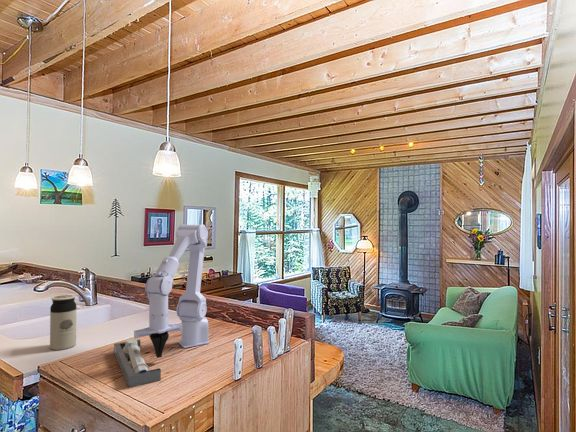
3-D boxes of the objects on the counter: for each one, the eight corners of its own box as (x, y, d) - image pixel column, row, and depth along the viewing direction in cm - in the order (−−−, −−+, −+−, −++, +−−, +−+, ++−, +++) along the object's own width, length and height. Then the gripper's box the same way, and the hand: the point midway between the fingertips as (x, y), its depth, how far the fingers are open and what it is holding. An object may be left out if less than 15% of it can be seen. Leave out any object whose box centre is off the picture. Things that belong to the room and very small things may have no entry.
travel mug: (50, 345, 130) (50, 296, 130) (75, 341, 134) (76, 293, 135) (49, 352, 123) (50, 300, 124) (76, 347, 128) (76, 297, 128)
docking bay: (139, 347, 128) (139, 339, 128) (160, 380, 101) (160, 369, 102) (113, 352, 123) (113, 343, 123) (128, 387, 97) (128, 376, 97)
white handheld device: (132, 371, 99) (121, 334, 120) (131, 394, 99) (121, 353, 120) (152, 367, 101) (138, 332, 122) (151, 389, 102) (138, 350, 123)
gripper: (136, 320, 107) (136, 365, 107) (185, 313, 115) (185, 355, 115) (132, 315, 113) (132, 358, 113) (178, 308, 121) (178, 348, 121)
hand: (158, 356), depth 114 cm, fingers closed
